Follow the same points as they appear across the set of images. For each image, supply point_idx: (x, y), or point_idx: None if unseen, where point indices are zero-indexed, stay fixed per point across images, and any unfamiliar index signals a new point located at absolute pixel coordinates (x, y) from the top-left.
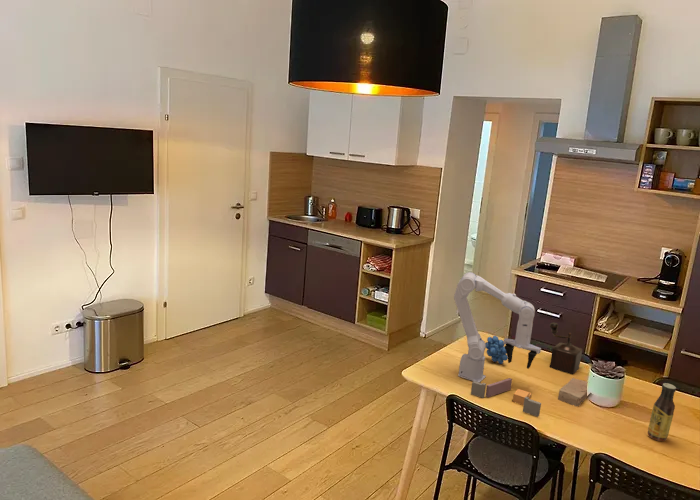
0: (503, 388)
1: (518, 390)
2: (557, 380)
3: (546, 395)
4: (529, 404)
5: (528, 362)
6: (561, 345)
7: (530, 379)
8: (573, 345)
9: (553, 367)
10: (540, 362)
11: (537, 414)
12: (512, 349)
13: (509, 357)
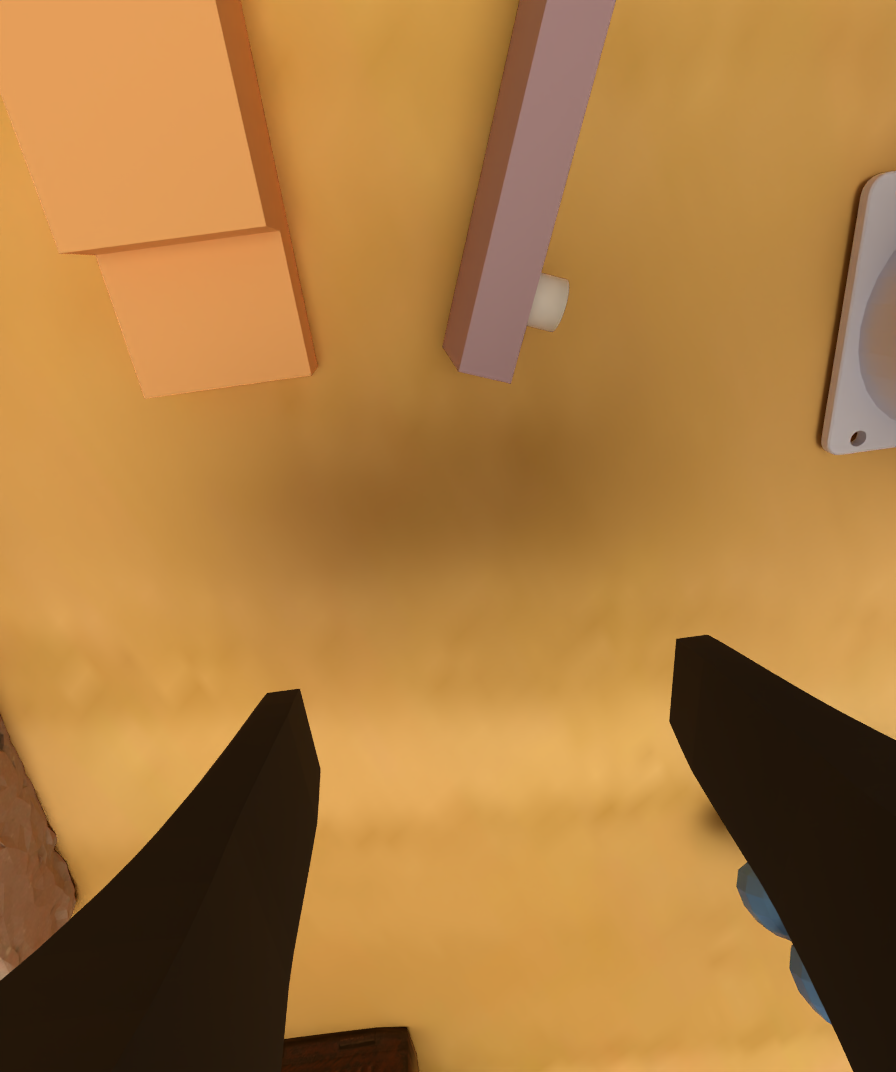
0: (493, 148)
1: (225, 159)
2: None
3: (83, 574)
4: None
5: (225, 797)
6: None
7: (411, 763)
8: None
9: (375, 1041)
10: (497, 1037)
11: None
12: (881, 1023)
13: (772, 707)
